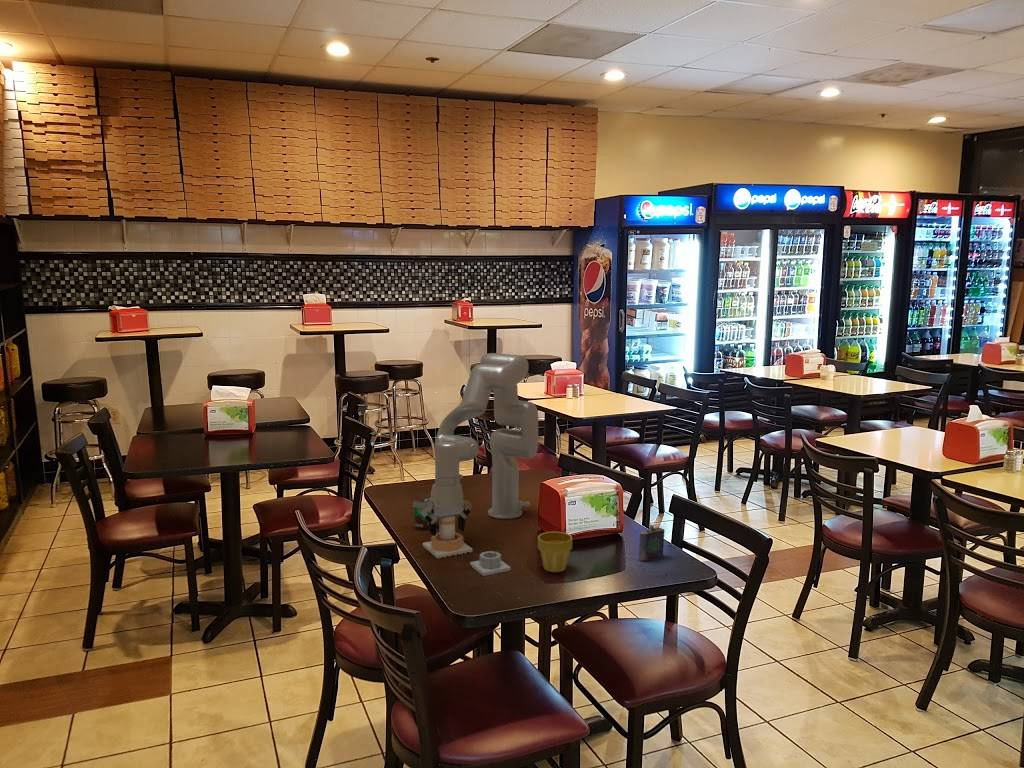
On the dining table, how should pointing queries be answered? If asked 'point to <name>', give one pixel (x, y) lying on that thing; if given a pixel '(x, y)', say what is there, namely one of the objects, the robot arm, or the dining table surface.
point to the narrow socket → (490, 564)
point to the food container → (419, 518)
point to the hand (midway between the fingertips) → (447, 532)
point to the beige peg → (447, 528)
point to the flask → (651, 544)
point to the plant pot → (554, 550)
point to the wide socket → (447, 546)
